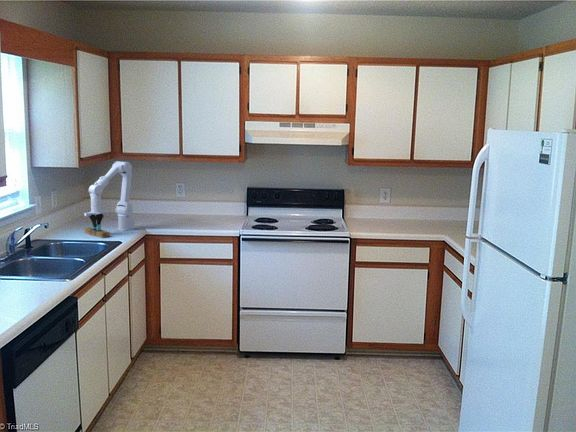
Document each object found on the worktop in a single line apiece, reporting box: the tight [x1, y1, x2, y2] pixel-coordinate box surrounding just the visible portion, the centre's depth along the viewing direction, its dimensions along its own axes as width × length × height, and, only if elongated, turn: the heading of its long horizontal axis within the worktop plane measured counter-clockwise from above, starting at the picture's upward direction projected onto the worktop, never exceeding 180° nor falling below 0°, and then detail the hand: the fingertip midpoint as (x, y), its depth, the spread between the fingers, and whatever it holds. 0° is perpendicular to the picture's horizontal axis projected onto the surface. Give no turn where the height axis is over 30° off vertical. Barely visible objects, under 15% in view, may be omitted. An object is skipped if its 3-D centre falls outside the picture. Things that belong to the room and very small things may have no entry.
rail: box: [83, 227, 111, 239], centre depth 318 cm, size 5×20×3 cm, turn 51°
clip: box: [91, 223, 102, 231], centre depth 318 cm, size 6×2×6 cm, turn 51°
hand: (96, 226), depth 317 cm, fingers closed on clip, 2 cm apart
